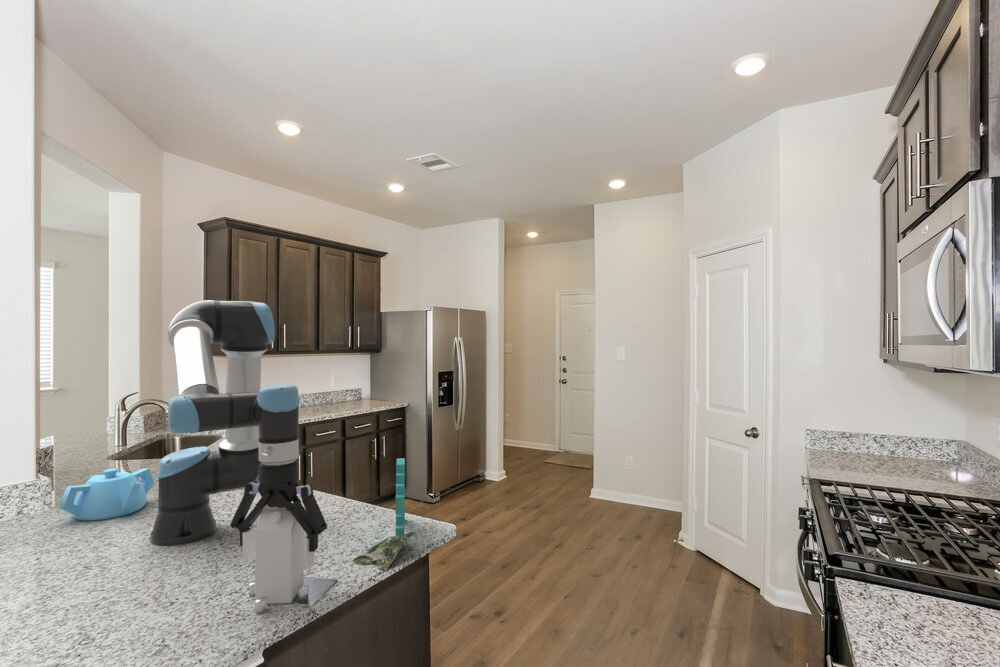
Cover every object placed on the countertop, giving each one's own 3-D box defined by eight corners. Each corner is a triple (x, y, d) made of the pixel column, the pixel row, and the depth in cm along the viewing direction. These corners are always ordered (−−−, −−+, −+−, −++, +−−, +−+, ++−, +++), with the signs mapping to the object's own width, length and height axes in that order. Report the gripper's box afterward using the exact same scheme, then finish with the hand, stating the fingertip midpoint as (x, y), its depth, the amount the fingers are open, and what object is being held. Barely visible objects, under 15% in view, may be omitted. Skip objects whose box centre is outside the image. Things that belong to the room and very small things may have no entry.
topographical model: (370, 542, 128) (368, 533, 128) (418, 538, 123) (416, 529, 123) (332, 577, 114) (329, 568, 114) (384, 575, 108) (381, 565, 108)
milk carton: (270, 586, 102) (270, 497, 102) (303, 585, 103) (304, 496, 103) (254, 605, 95) (254, 509, 95) (291, 604, 95) (291, 508, 96)
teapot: (56, 529, 136) (57, 480, 136) (87, 507, 154) (88, 464, 154) (137, 520, 143) (138, 474, 143) (158, 500, 161) (158, 459, 161)
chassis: (210, 625, 91) (210, 604, 91) (267, 579, 108) (267, 562, 108) (292, 634, 88) (292, 612, 88) (337, 586, 105) (337, 568, 105)
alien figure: (404, 548, 124) (404, 471, 124) (395, 549, 124) (395, 471, 124) (404, 519, 144) (404, 452, 144) (397, 519, 143) (397, 452, 143)
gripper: (210, 462, 96) (210, 568, 96) (325, 468, 92) (325, 578, 92) (237, 453, 104) (236, 551, 104) (344, 458, 100) (344, 560, 100)
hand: (278, 564), depth 98 cm, fingers open, 13 cm apart
